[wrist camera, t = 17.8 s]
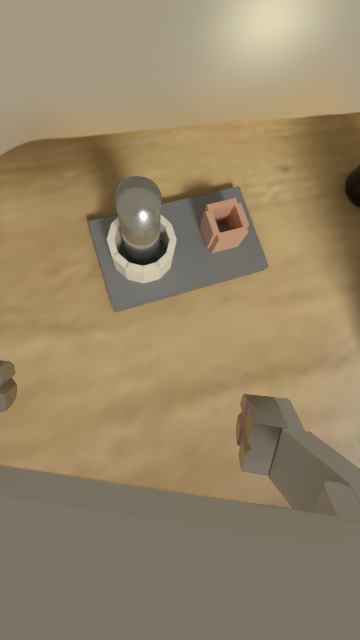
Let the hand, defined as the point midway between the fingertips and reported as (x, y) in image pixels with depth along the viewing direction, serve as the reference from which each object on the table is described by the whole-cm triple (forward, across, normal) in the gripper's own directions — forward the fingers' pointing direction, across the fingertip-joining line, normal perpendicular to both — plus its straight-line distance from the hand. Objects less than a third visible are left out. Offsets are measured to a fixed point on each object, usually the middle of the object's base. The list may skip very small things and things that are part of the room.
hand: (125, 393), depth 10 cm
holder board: (+30, +1, -2) cm, 31 cm away
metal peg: (+28, +5, -1) cm, 28 cm away
